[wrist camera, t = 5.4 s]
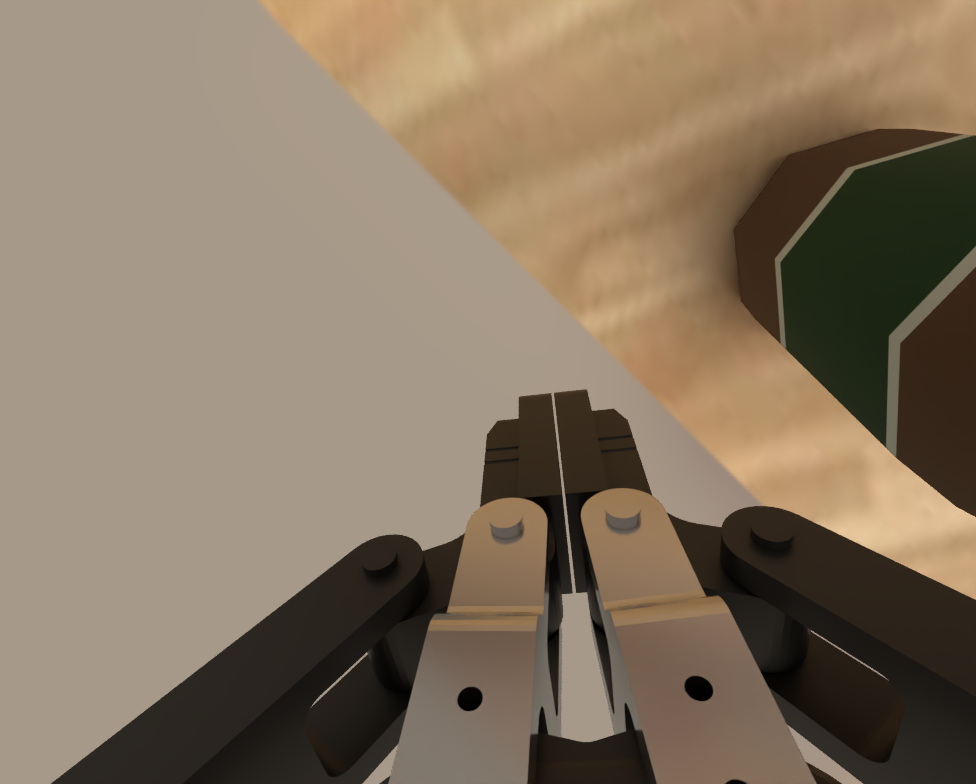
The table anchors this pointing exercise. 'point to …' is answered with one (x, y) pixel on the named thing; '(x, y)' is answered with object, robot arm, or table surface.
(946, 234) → the beer bottle
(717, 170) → the table surface
